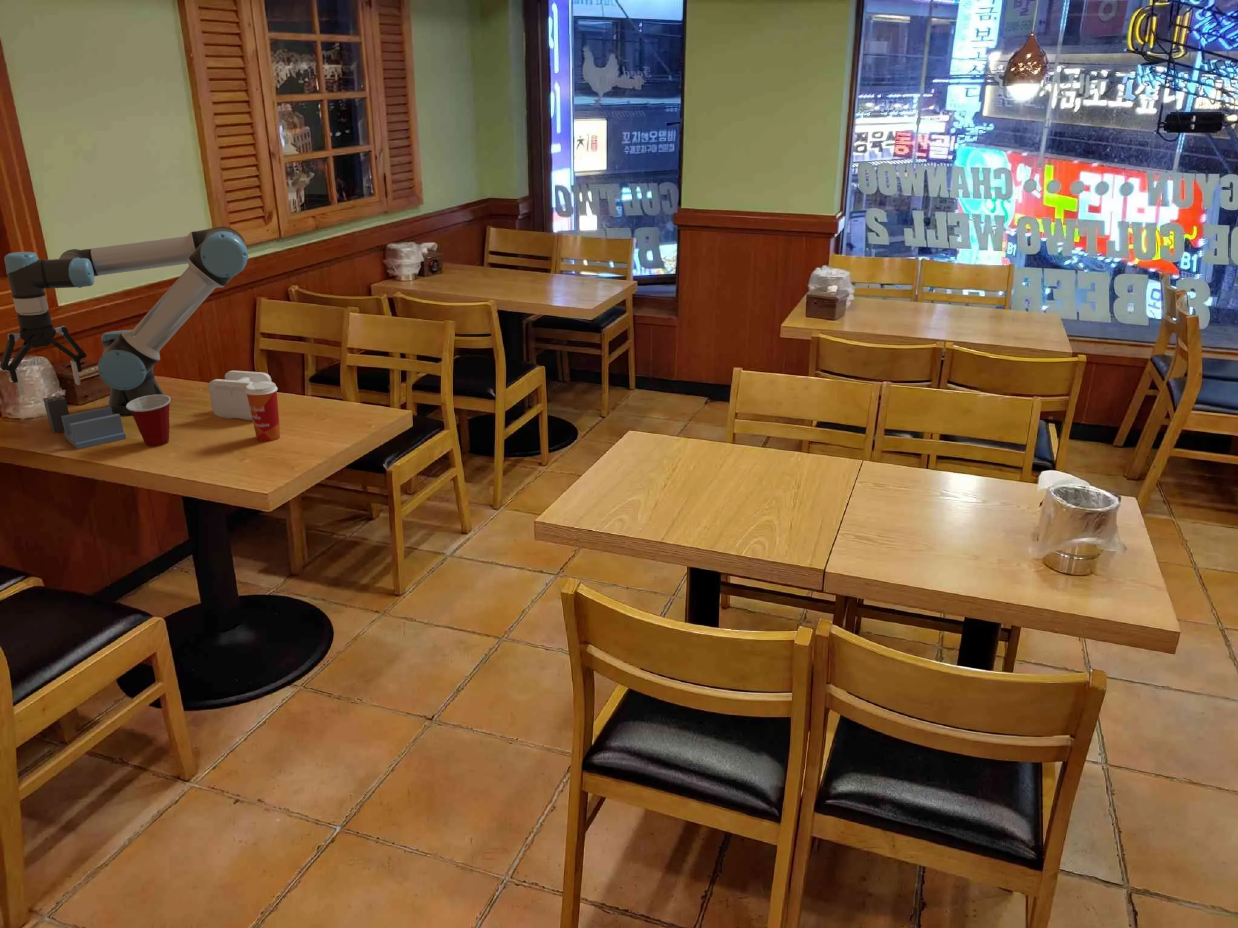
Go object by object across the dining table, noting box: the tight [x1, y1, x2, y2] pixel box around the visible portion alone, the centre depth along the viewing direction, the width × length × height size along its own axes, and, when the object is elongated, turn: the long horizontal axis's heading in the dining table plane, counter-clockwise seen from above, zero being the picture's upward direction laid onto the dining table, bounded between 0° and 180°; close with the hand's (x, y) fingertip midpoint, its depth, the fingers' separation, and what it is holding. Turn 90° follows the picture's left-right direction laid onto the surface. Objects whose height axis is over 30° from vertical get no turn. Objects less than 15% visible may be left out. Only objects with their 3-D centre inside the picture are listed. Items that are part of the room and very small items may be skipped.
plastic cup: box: [126, 394, 172, 447], centre depth 245 cm, size 11×11×12 cm
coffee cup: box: [245, 381, 281, 442], centre depth 248 cm, size 8×8×15 cm
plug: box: [42, 392, 70, 434], centre depth 255 cm, size 4×4×10 cm
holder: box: [61, 405, 127, 450], centre depth 249 cm, size 12×12×6 cm
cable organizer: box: [208, 370, 272, 421], centre depth 266 cm, size 15×11×12 cm
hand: (50, 388), depth 252 cm, fingers open, 13 cm apart
